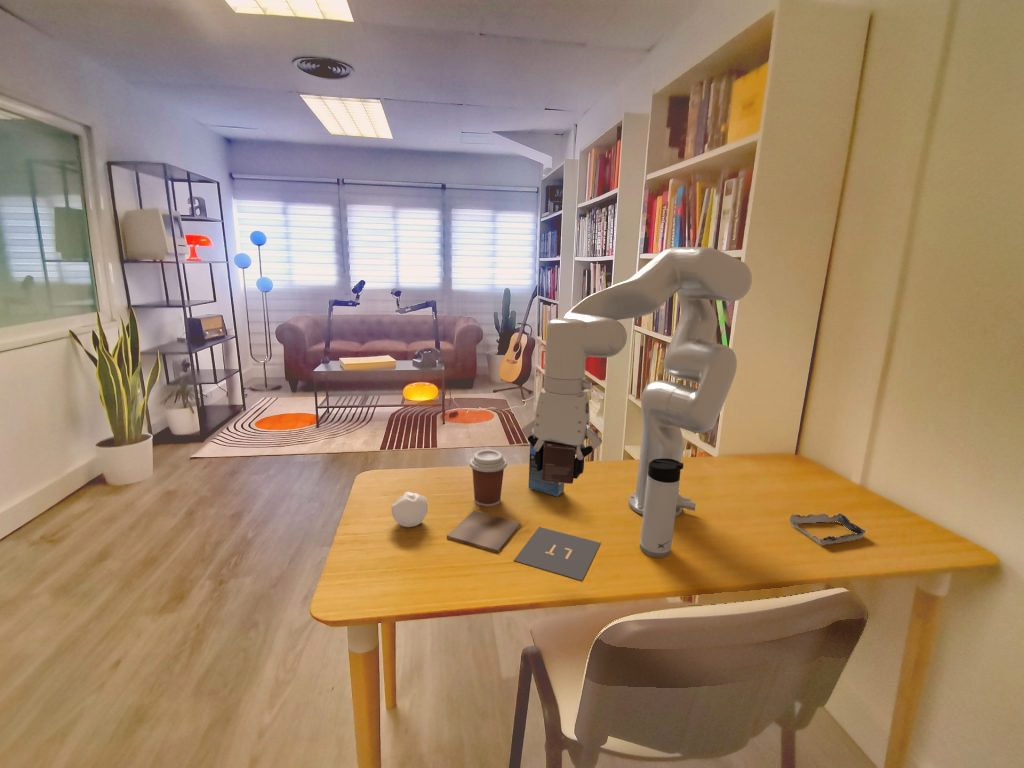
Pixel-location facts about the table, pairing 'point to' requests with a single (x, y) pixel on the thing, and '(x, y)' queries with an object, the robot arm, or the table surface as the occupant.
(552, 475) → the box
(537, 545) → the mat
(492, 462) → the coffee cup
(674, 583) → the table surface
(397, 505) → the white rounded piece
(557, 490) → the label tape cartridge
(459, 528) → the walnut pad
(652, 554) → the travel mug
